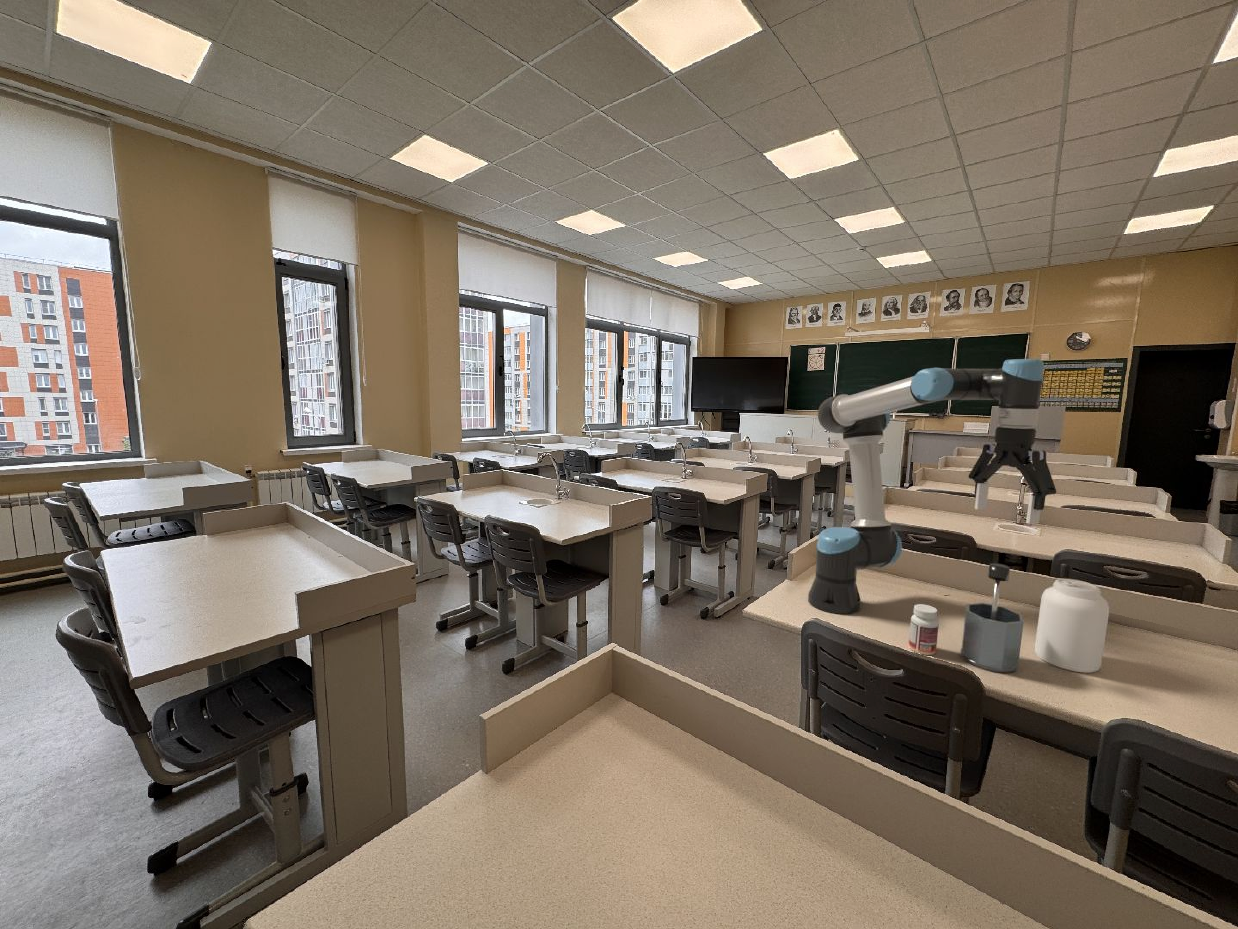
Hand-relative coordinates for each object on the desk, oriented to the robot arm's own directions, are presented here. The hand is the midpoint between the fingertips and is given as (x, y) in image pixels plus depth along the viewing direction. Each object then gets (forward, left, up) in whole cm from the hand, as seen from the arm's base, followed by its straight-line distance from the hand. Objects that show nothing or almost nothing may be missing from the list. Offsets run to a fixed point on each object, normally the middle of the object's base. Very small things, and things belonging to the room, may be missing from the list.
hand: (1005, 515), depth 125 cm
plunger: (+1, -1, -35) cm, 35 cm away
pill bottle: (-7, -13, -37) cm, 40 cm away
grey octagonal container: (+1, 0, -37) cm, 37 cm away
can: (+5, +18, -37) cm, 41 cm away
